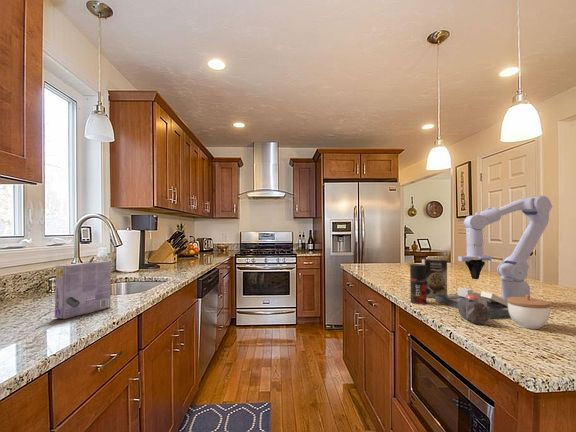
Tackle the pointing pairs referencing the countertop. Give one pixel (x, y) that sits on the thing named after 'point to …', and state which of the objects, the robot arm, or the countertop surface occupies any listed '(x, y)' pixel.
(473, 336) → the countertop surface
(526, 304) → the lidded jar
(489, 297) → the beige rectangular block
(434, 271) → the coffee box
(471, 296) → the button
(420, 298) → the deodorant
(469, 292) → the fader knob
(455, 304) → the panel
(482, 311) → the perforated stone tool
